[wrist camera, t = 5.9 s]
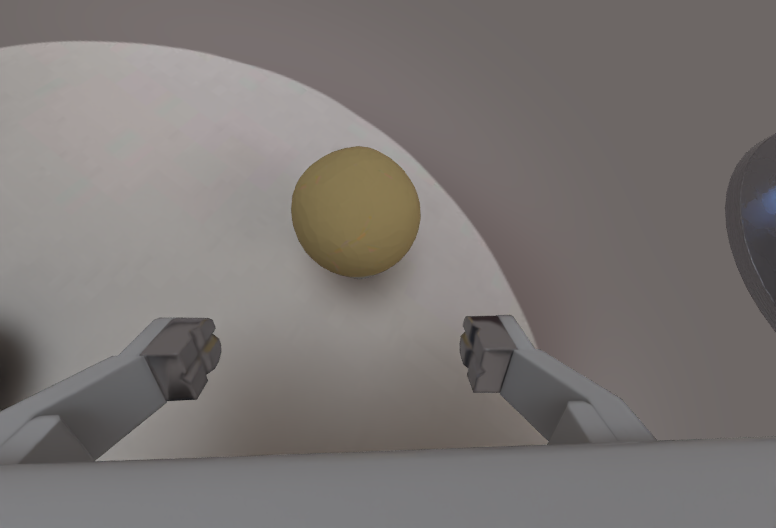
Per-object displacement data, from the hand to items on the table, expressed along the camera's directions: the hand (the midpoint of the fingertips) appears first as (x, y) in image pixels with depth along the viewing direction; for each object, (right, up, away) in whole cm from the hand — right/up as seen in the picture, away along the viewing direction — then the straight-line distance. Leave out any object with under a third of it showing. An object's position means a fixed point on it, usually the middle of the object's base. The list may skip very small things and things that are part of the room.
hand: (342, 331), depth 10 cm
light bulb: (-1, +3, +12) cm, 12 cm away
